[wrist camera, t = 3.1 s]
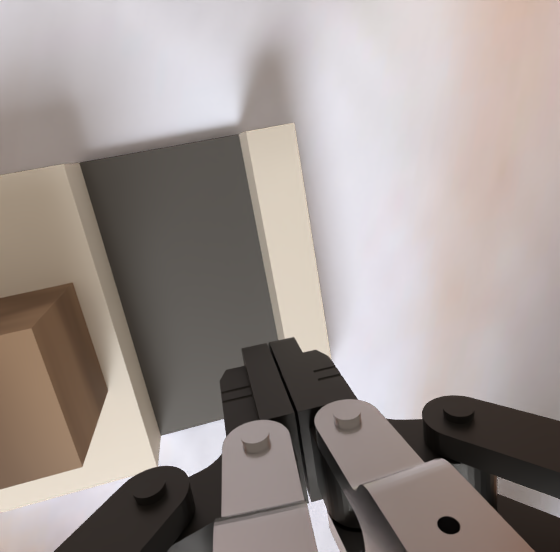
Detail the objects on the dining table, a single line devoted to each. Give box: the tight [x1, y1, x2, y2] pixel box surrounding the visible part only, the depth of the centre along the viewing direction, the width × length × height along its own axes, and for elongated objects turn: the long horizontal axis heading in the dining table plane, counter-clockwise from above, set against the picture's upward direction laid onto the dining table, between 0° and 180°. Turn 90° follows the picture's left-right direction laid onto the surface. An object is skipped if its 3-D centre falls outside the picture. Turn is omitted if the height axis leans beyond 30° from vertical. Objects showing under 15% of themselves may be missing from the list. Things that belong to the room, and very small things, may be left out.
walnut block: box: [0, 283, 108, 490], centre depth 16 cm, size 5×5×5 cm
